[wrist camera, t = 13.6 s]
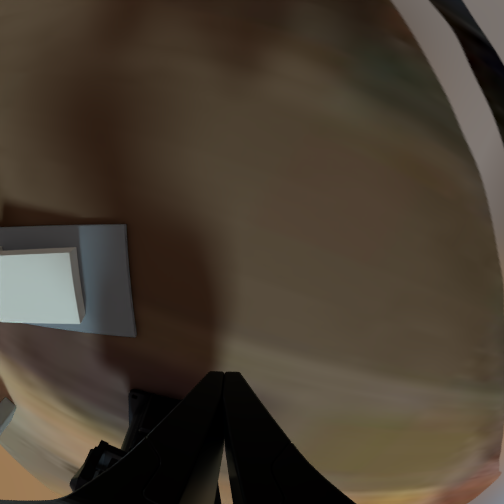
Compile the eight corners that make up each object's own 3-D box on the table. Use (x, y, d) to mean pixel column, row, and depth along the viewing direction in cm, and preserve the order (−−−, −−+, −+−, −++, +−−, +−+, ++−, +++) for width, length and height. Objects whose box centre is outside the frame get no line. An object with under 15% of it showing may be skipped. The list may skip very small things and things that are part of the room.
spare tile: (69, 252, 17) (-22, 256, 15) (80, 323, 18) (-8, 321, 16) (76, 247, 19) (-12, 251, 17) (85, 314, 20) (1, 312, 18)
